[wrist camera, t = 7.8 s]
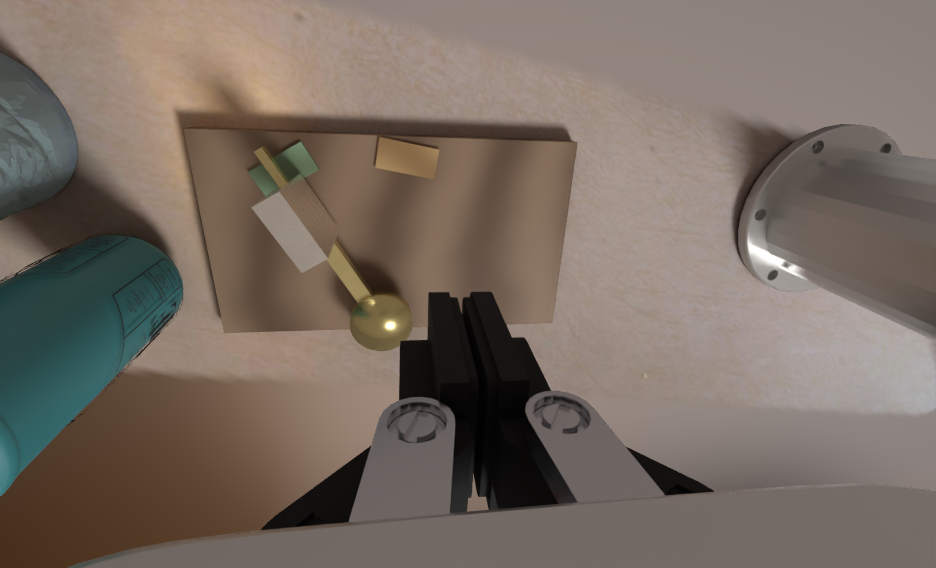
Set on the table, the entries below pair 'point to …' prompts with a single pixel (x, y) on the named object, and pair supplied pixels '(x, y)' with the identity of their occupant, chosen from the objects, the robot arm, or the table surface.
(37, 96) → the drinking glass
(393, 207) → the cutting board
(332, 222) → the gold and silver piece
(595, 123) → the table surface
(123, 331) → the beverage bottle
